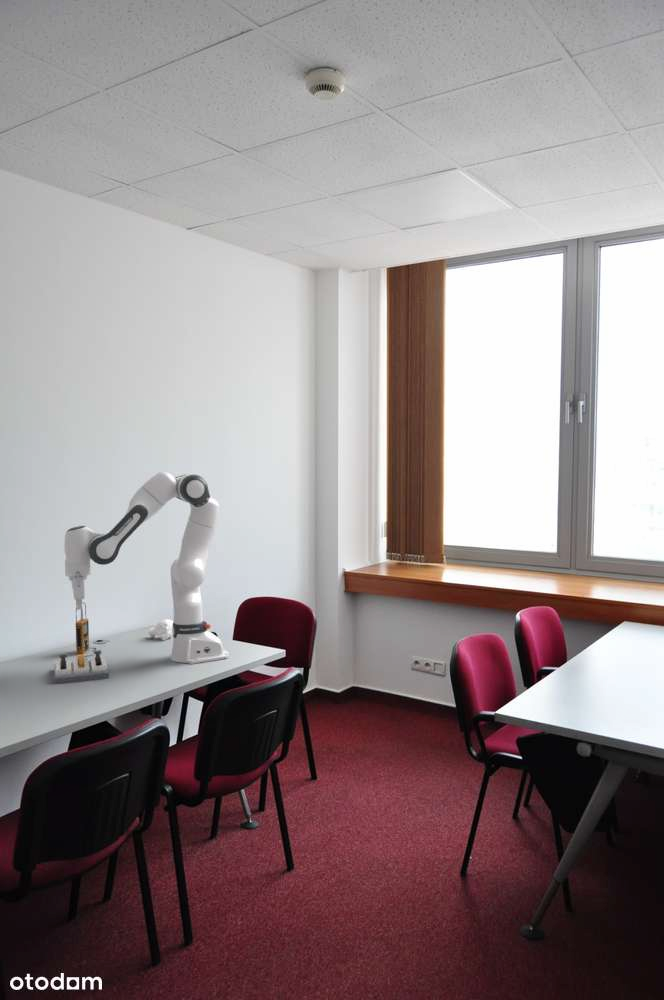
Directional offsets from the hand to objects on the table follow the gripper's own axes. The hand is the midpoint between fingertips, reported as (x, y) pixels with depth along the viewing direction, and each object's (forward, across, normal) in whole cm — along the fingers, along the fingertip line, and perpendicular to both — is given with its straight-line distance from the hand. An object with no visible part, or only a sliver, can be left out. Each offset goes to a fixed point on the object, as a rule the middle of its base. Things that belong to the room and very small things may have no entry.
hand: (78, 607), depth 272 cm
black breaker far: (+21, -3, +6) cm, 22 cm away
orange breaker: (+21, -6, 0) cm, 22 cm away
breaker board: (+23, -6, 0) cm, 24 cm away
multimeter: (+23, +24, -5) cm, 34 cm away
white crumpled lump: (+23, +38, -34) cm, 56 cm away
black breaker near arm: (+21, -3, -6) cm, 22 cm away
